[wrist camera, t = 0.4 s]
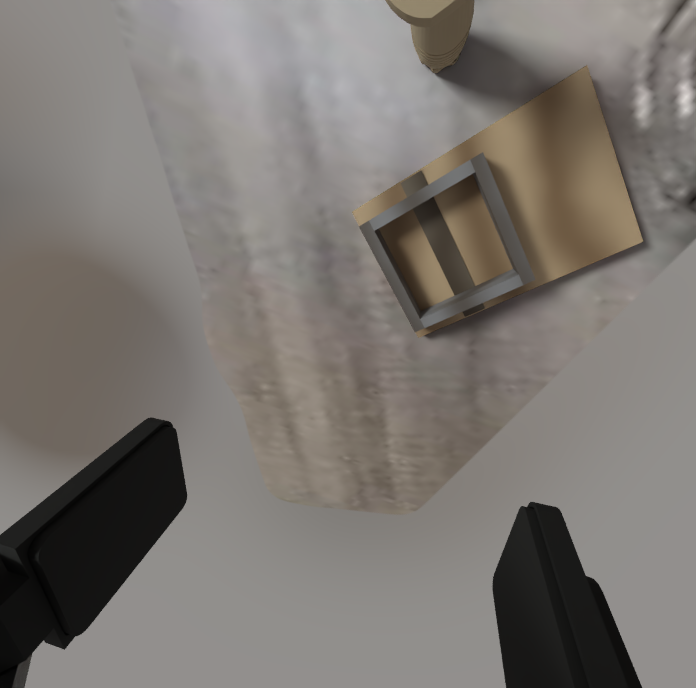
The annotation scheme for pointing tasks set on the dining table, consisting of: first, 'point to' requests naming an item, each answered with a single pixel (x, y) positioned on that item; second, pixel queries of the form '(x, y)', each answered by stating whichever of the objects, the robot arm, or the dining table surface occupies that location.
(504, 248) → the subfloor panel
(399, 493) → the dining table surface
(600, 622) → the robot arm
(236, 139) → the dining table surface
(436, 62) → the handle
